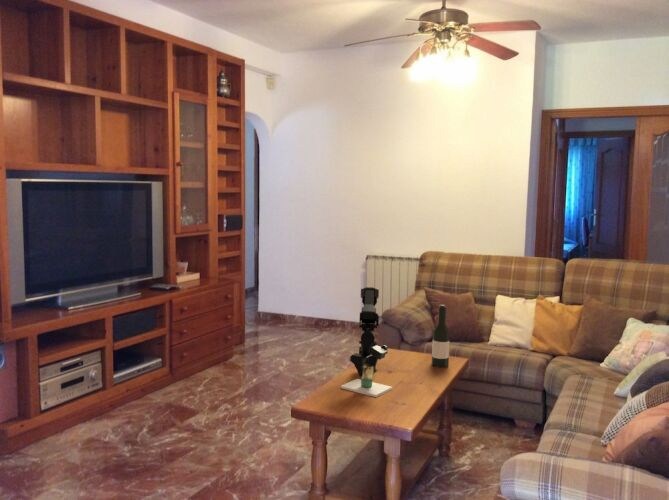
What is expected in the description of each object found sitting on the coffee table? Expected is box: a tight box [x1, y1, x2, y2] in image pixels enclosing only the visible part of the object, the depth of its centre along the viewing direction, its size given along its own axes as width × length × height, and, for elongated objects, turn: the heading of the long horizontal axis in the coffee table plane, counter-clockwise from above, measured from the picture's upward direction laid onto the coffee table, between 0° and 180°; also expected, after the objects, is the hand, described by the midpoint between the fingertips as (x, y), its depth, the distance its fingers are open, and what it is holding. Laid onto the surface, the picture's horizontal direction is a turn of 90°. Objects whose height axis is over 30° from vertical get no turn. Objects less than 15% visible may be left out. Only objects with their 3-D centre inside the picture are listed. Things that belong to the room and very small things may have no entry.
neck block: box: [340, 377, 393, 398], centre depth 267 cm, size 18×13×5 cm
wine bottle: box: [431, 304, 451, 368], centre depth 303 cm, size 8×8×30 cm
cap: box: [360, 364, 374, 380], centre depth 266 cm, size 5×6×5 cm
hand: (366, 374), depth 267 cm, fingers open, 9 cm apart
